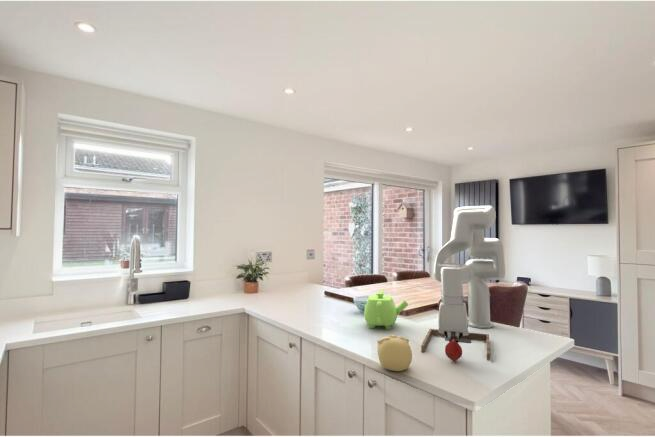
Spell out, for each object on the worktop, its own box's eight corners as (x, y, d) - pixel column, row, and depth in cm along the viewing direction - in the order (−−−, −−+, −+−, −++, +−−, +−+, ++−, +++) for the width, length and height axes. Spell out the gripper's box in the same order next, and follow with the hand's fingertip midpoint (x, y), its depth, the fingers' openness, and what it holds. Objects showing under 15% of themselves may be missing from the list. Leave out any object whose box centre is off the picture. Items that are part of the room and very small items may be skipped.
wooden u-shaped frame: (429, 334, 155) (429, 328, 155) (489, 340, 145) (489, 334, 145) (421, 351, 134) (421, 345, 134) (490, 360, 124) (489, 353, 124)
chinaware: (349, 310, 202) (348, 297, 202) (371, 307, 208) (370, 294, 208) (362, 316, 188) (361, 302, 188) (385, 313, 194) (384, 299, 195)
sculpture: (406, 360, 126) (406, 330, 126) (416, 374, 114) (415, 341, 114) (375, 361, 126) (374, 331, 126) (381, 375, 114) (380, 342, 114)
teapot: (409, 333, 157) (408, 297, 158) (362, 331, 162) (361, 297, 162) (408, 318, 182) (407, 288, 182) (367, 317, 186) (366, 287, 187)
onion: (442, 361, 123) (442, 339, 124) (449, 357, 128) (448, 335, 128) (459, 365, 120) (458, 342, 120) (465, 360, 124) (464, 338, 124)
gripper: (474, 299, 129) (476, 348, 128) (432, 296, 135) (434, 344, 134) (473, 303, 122) (475, 356, 121) (429, 300, 128) (431, 350, 128)
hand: (454, 349), depth 128 cm, fingers closed
